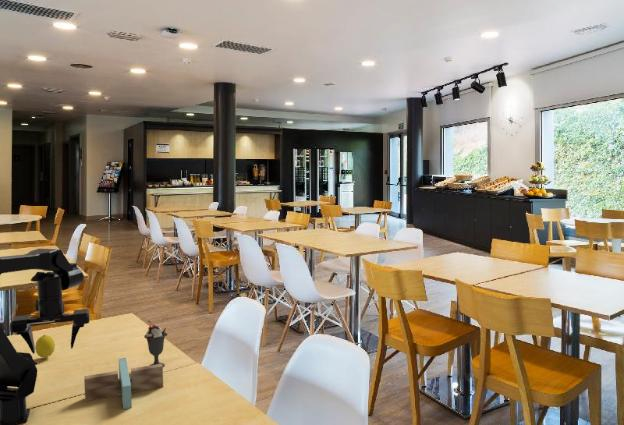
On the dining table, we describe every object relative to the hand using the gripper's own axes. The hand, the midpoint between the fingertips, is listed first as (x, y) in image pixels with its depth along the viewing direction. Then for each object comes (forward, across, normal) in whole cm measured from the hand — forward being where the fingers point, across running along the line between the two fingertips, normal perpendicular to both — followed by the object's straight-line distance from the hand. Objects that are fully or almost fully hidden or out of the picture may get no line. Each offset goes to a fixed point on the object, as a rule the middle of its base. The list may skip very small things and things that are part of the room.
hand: (53, 350), depth 132 cm
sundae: (+12, -27, -7) cm, 31 cm away
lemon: (+12, +5, -28) cm, 31 cm away
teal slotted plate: (+12, -18, +7) cm, 23 cm away
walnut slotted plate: (+12, -18, +7) cm, 23 cm away
